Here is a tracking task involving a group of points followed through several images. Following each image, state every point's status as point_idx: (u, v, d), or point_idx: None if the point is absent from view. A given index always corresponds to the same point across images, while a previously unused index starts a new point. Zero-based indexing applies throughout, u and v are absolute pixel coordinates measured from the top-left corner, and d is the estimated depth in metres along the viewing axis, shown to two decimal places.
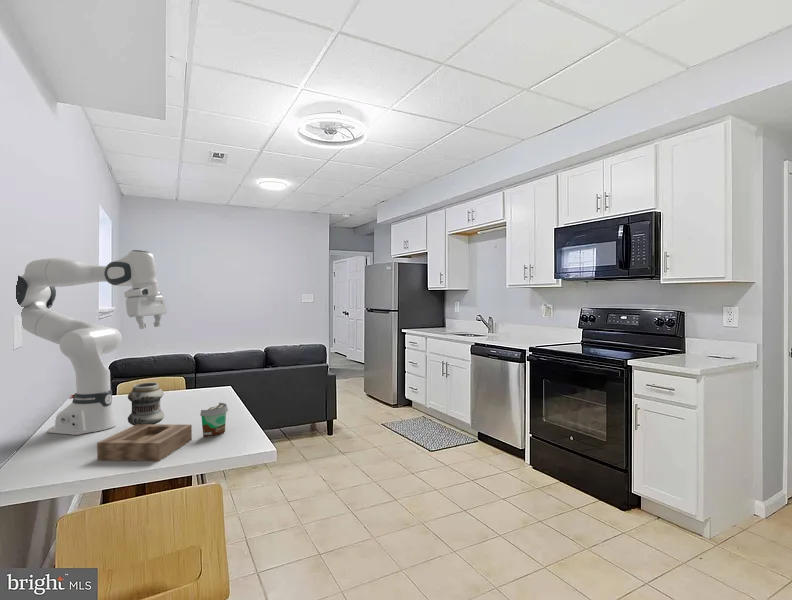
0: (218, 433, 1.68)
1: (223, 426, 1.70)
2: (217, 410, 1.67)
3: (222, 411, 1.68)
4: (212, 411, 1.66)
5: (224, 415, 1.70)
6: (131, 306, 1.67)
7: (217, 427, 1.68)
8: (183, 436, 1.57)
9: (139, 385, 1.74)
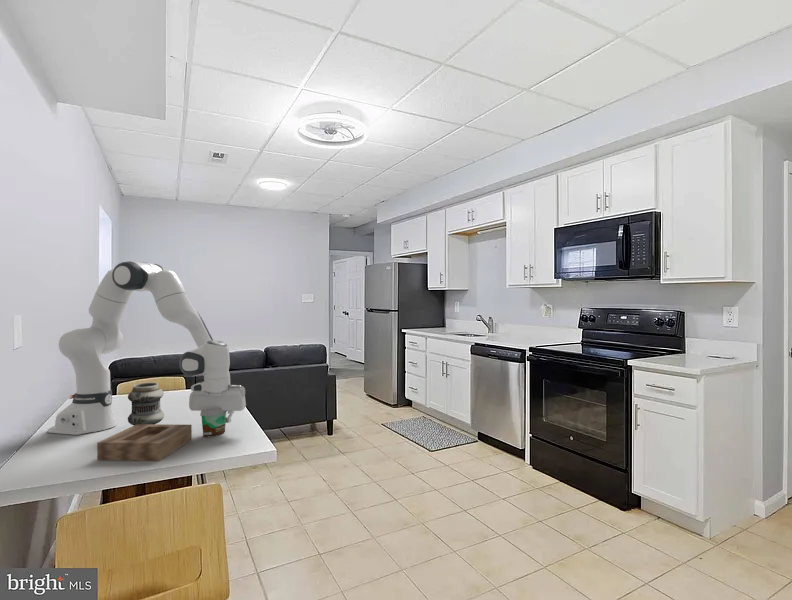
0: (218, 433, 1.68)
1: (223, 426, 1.70)
2: (217, 410, 1.67)
3: (222, 411, 1.68)
4: (212, 411, 1.66)
5: (224, 415, 1.70)
6: None
7: (217, 427, 1.68)
8: (183, 436, 1.57)
9: (139, 385, 1.74)
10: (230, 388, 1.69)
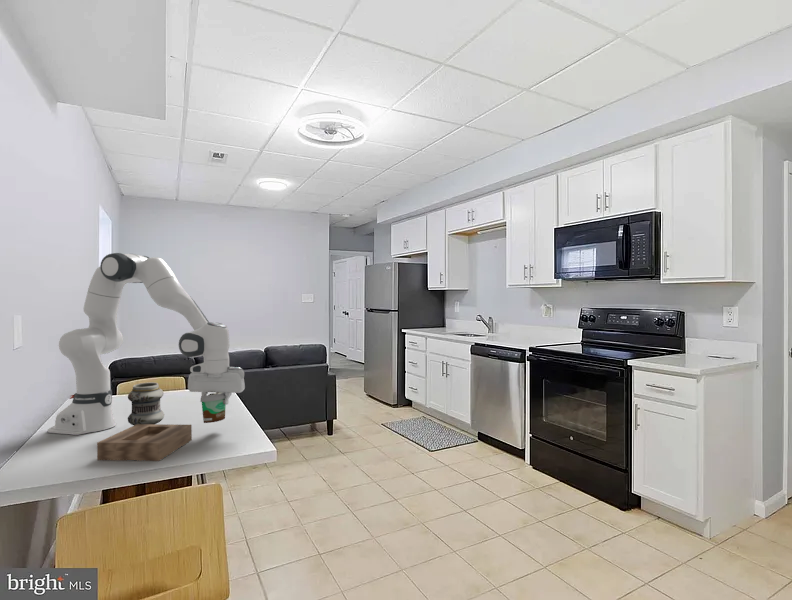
0: (218, 419, 1.68)
1: (223, 412, 1.70)
2: (217, 396, 1.67)
3: (222, 397, 1.68)
4: (212, 397, 1.66)
5: None
6: None
7: (217, 413, 1.67)
8: (183, 436, 1.57)
9: (139, 385, 1.74)
10: (229, 370, 1.69)
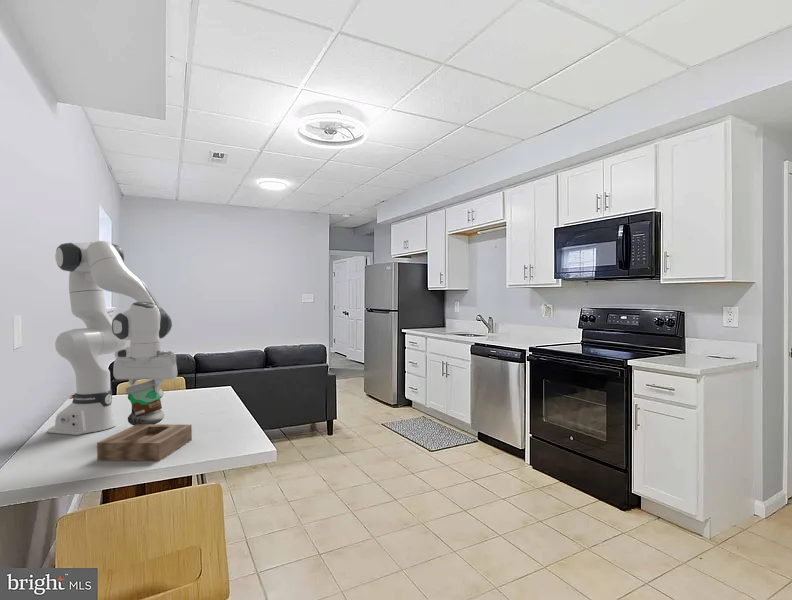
0: (153, 409, 1.51)
1: (157, 401, 1.53)
2: (144, 384, 1.50)
3: (151, 384, 1.51)
4: (139, 386, 1.48)
5: None
6: None
7: (150, 403, 1.50)
8: (183, 436, 1.57)
9: None
10: (159, 354, 1.52)
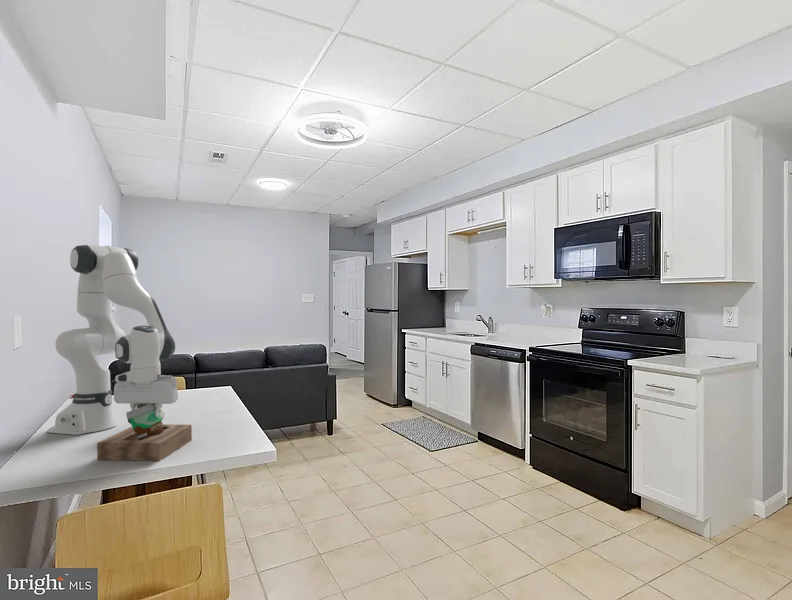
0: (155, 432, 1.51)
1: (159, 423, 1.53)
2: (145, 407, 1.50)
3: (151, 407, 1.51)
4: (139, 410, 1.48)
5: None
6: None
7: (151, 426, 1.50)
8: (183, 436, 1.57)
9: None
10: (160, 378, 1.52)
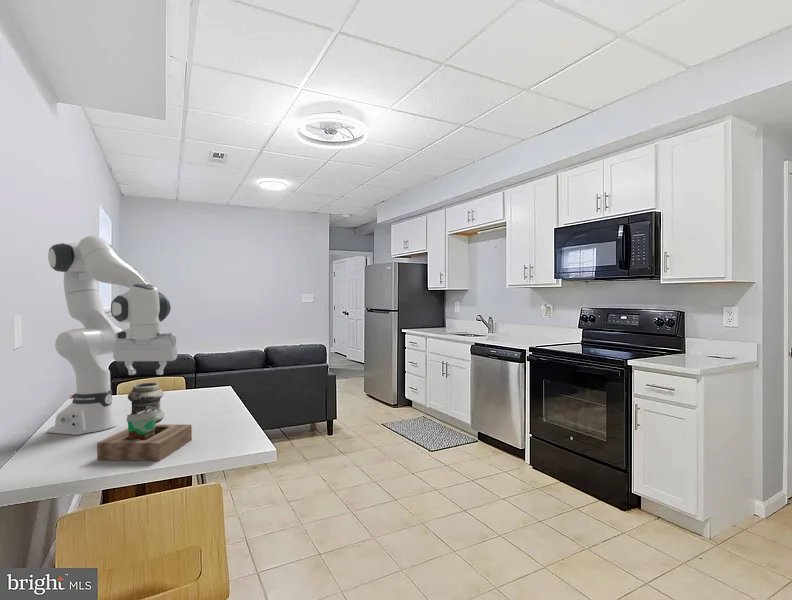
0: None
1: (153, 432, 1.54)
2: (146, 414, 1.50)
3: (152, 415, 1.52)
4: (141, 415, 1.49)
5: (154, 419, 1.54)
6: None
7: (146, 434, 1.51)
8: (183, 436, 1.57)
9: (139, 385, 1.74)
10: (159, 336, 1.52)
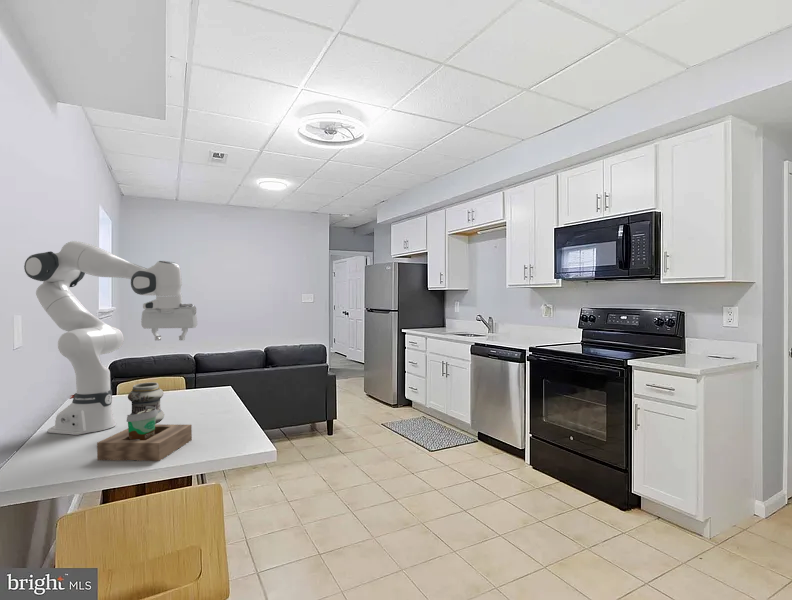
0: None
1: (153, 432, 1.54)
2: (146, 414, 1.50)
3: (152, 415, 1.52)
4: (141, 415, 1.49)
5: (154, 419, 1.54)
6: None
7: (146, 434, 1.51)
8: (183, 436, 1.57)
9: (139, 385, 1.74)
10: (181, 306, 1.74)
